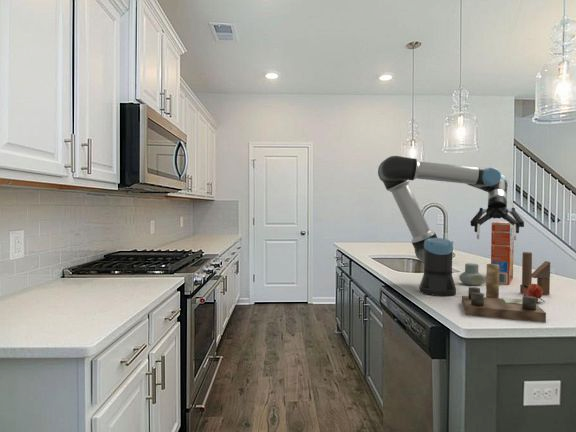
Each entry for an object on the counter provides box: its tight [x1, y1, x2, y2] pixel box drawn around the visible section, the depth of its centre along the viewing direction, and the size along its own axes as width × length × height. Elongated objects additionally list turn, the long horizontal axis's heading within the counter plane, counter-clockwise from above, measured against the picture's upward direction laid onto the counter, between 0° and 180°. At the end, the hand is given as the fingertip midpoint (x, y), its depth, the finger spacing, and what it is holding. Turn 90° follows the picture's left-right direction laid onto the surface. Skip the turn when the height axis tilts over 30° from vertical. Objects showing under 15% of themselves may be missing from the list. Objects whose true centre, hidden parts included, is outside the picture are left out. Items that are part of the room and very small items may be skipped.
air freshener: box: [458, 262, 485, 287], centre depth 194 cm, size 11×8×10 cm
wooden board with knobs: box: [461, 286, 547, 323], centre depth 143 cm, size 24×18×7 cm
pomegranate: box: [522, 283, 546, 303], centre depth 159 cm, size 7×7×10 cm
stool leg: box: [485, 263, 500, 298], centre depth 157 cm, size 4×4×15 cm
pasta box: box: [490, 221, 515, 286], centre depth 205 cm, size 23×8×30 cm, turn 147°
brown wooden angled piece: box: [519, 251, 551, 296], centre depth 174 cm, size 4×11×18 cm, turn 87°
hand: (496, 237), depth 166 cm, fingers open, 13 cm apart
